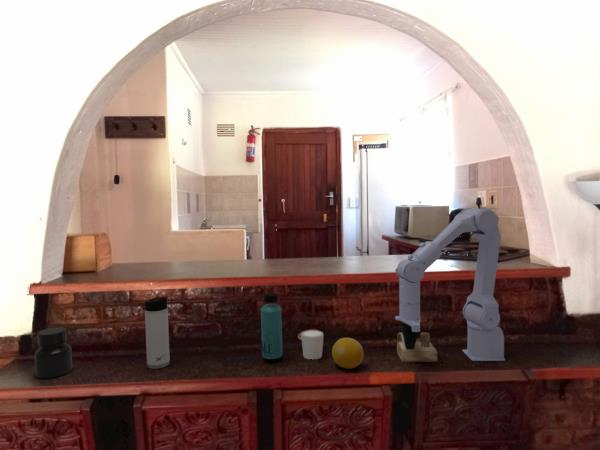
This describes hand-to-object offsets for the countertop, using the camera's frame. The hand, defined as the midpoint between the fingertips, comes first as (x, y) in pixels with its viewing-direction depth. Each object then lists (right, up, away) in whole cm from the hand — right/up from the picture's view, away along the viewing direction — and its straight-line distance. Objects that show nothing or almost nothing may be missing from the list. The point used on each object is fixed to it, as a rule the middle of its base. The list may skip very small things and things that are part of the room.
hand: (409, 348), depth 114 cm
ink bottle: (-101, -6, -2) cm, 101 cm away
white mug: (-28, -5, +7) cm, 29 cm away
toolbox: (+3, -4, +4) cm, 7 cm away
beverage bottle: (-40, -5, +4) cm, 40 cm away
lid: (+3, -1, +4) cm, 5 cm away
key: (0, 0, +6) cm, 6 cm away
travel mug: (-73, -6, +2) cm, 73 cm away
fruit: (-18, -5, -2) cm, 19 cm away
